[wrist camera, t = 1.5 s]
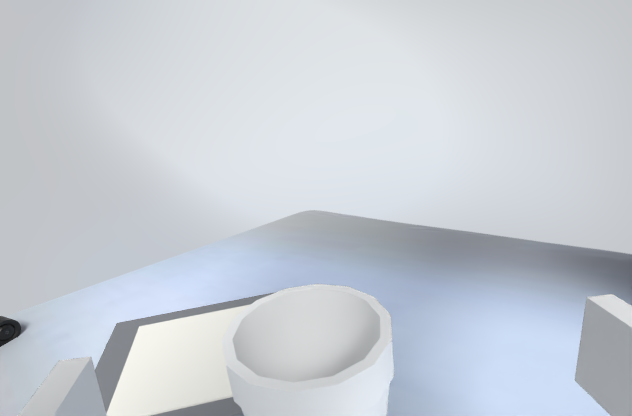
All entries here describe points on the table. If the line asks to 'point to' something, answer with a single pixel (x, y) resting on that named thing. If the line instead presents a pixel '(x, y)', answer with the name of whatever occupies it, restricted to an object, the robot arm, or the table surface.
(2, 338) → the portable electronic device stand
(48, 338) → the table surface
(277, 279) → the table surface
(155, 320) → the picture frame
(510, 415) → the table surface
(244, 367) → the foam cup
